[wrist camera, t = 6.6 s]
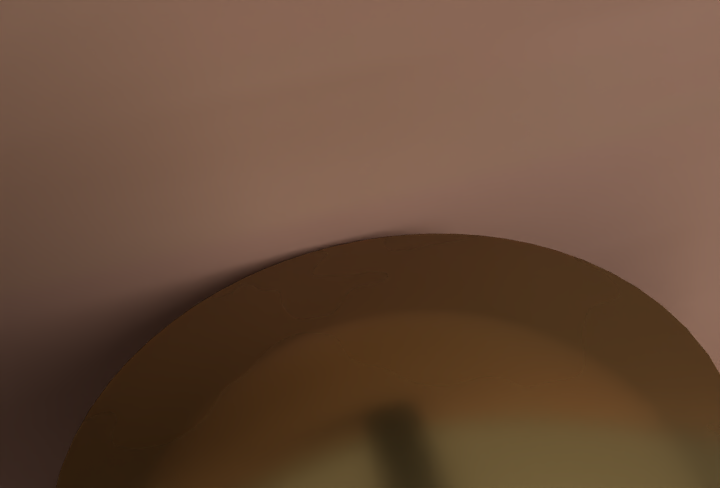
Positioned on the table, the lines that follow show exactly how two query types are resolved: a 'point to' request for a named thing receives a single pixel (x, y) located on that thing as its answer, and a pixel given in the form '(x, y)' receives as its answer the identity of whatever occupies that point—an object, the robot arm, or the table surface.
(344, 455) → the brass cylinder
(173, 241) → the table surface
